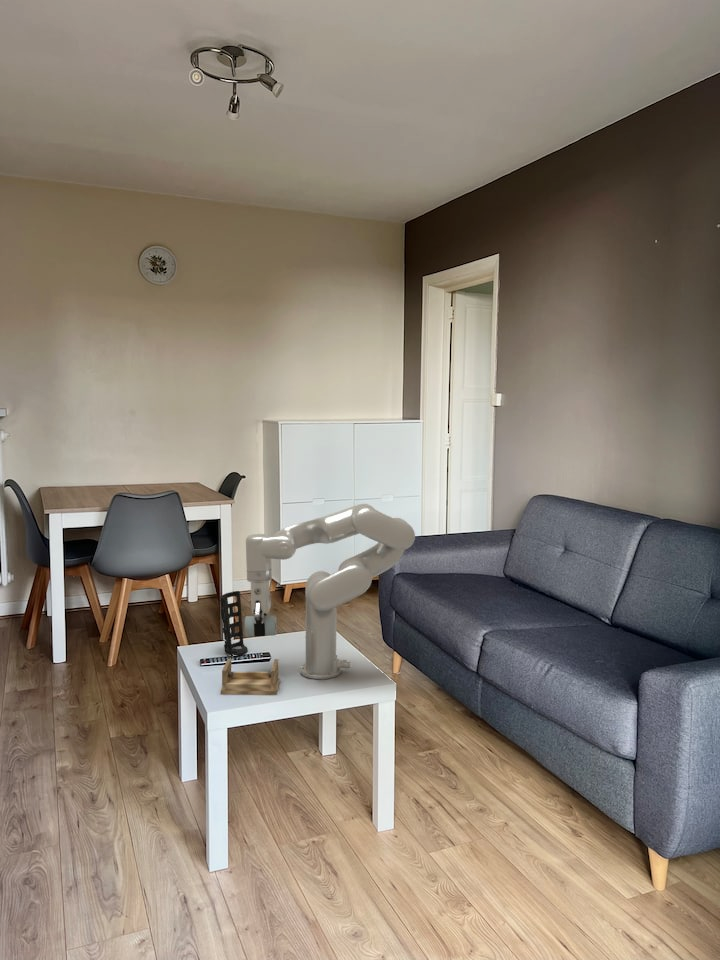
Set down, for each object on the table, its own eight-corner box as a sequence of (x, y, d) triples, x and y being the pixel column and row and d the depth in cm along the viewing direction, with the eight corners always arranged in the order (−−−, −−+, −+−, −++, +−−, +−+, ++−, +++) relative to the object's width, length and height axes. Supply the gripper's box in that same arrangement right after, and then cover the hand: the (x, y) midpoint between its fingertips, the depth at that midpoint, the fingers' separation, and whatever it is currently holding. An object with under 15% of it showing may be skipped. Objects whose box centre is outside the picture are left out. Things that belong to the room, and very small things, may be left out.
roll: (277, 631, 225) (276, 612, 224) (275, 638, 219) (274, 619, 218) (247, 632, 225) (246, 613, 224) (244, 638, 219) (243, 619, 218)
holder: (243, 657, 237) (237, 597, 235) (220, 658, 238) (214, 599, 236) (250, 647, 248) (244, 589, 246) (228, 648, 248) (223, 591, 247)
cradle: (279, 681, 217) (279, 659, 217) (276, 694, 207) (276, 671, 207) (226, 681, 217) (226, 658, 216) (220, 694, 207) (220, 670, 206)
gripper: (268, 581, 212) (270, 641, 213) (274, 568, 229) (276, 623, 231) (242, 582, 212) (244, 641, 213) (250, 568, 229) (252, 624, 231)
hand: (261, 632), depth 222 cm, fingers closed on roll, 5 cm apart
